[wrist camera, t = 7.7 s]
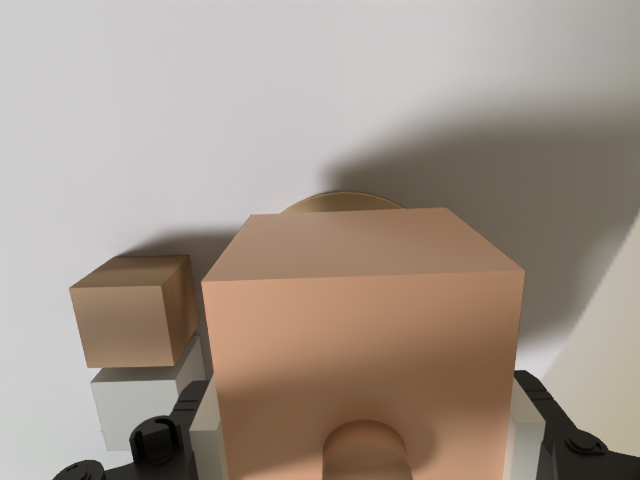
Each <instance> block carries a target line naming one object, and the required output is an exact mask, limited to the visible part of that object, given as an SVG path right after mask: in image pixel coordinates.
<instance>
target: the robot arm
mask: <svg viewBox="0 0 640 480" xmlns="http://www.w3.org/2000/svg"><path fill="white" fill-rule="evenodd" d="M129 442H130V447H131V451H132V456H133V460H134V462H132V463H130V464H127V465H124V466H121V467H117V468H113V469H110V470H106V471H104V468H103V466H102V464H101V463H100V462H98V461H96V460H84V461H80V462H77V463H74V464H72V465H70V466H68V467H66V468H65V469H63V470H62V471H61V472H60V473H58V474H57V475H56V476H55V477H54V479H53V480H229V474H228V467H227V460H226V452H225V445H224V438H223V430H222V423H221V418H220V412H219V405H218V398H217V391H216V384H215V377H214V373H213V376H212V378H211V380H197V381H192V382H191V383H190V384H188V385H187V386H186V387H185V388H184V389H183V390H182V392H181V394H180V396H179V397H178V399H177V403H175V405H174V407H173V409H172V412H171V413H170V415H169V416H167V415H161V416H155V417H152V418H150V419H147V420H145V421H143V422H142V423H141V424H139V425H138V426H137V427H136V428H135V429H134V430H133V431H132V433H131V435H130V438H129ZM502 480H640V457H635V456H630V455H626V454H620V453H617V452H613V451H610V450H608V448H607V446H606V445H605V444H604V443H603V442H602V441H601V440H600V439H599V438H597V437H595V436H593V435H592V434H590V433H588V432H585V431H582V430H579V429H578V428H577V427H576V426H575V425H574V423H573V422H572V421H571V420H570V418H569V417H568V416H567V415H566V413H565V412H564V411H563V410H562V408H561V407H560V406H559V405H558V403H557V402H556V401H555V400H554V399H553V397H552V396H551V394H550V393H549V392H547V389H546V388H545V387H544V386H543V384H542V383H541V382H540V381H539V379H537V378H536V377H535V376H533V375H532V374H530V373H529V372H527V371H526V370H514V378H513V387H512V396H511V405H510V414H509V423H508V432H507V441H506V450H505V460H504V469H503V478H502Z"/></svg>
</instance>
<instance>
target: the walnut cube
mask: <svg viewBox="0 0 640 480" xmlns="http://www.w3.org/2000/svg"><path fill="white" fill-rule="evenodd" d="M69 291H70V295H71V299H72V303H73V308H74V312H75V316H76V320H77V325H78V329H79V333H80V337H81V342H82V346H83V350H84V354H85V359H86V363H87V367H88V368H109V367H153V366H174V365H175V363H176V362H177V360H178V358H179V357H180V355H181V353H182V352H183V350H184V348H185V346H186V345H187V343H188V341H189V340H190V338H191V336H192V335H193V333H194V331H195V329H196V328H197V326H198V324H199V321H198V314H197V306H196V299H195V292H194V284H193V277H192V270H191V262H190V255H175V256H140V257H113V258H112V259H110V260H109V261H107V262H106V263H104V264H103V265H101V266H100V267H99V268H97V269H96V270H94V271H93V272H91V273H90V274H89V275H87V276H86V277H84V278H83V279H81V280H80V281H78V282H77V283H76V284H74V285H73V286H71V287H70V288H69Z"/></svg>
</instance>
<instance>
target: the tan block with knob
mask: <svg viewBox="0 0 640 480" xmlns="http://www.w3.org/2000/svg"><path fill="white" fill-rule="evenodd" d="M524 278H525V270H524V269H523V268H522V267H520V266H519V265H518V264H517V263H515V262H514V261H513V260H512V259H510V258H509V257H508V256H507V255H505V254H504V253H503V252H502V251H500V250H499V249H498V248H497V247H495V246H494V245H493V244H492V243H490V242H489V241H488V240H487V239H485V238H484V237H483V236H482V235H480V234H479V233H478V232H477V231H475V230H474V229H473V228H472V227H471V226H469V225H468V224H467V223H466V222H464V221H463V220H462V219H461V218H459V217H458V216H457V215H456V214H454V213H453V212H452V211H451V210H449V209H448V208H447V207H439V208H413V209H388V210H363V211H338V212H313V213H288V214H262V215H251V216H250V217H249V218H248V220H247V221H246V222H245V224H244V225H243V226H242V228H241V229H240V230H239V232H238V233H237V234H236V236H235V237H234V238H233V240H232V241H231V242H230V244H229V245H228V246H227V248H226V249H225V250H224V252H223V253H222V254H221V256H220V257H219V258H218V260H217V261H216V262H215V264H214V265H213V267H212V268H211V269H210V271H209V272H208V273H207V275H206V276H205V277H204V279H203V280H202V281H201V285H202V292H203V299H204V306H205V313H206V320H207V327H208V334H209V341H210V348H211V355H212V362H213V370H214V377H215V384H216V391H217V398H218V405H219V412H220V418H221V423H222V430H223V438H224V445H225V452H226V460H227V467H228V474H229V480H502V478H503V469H504V460H505V450H506V441H507V432H508V423H509V414H510V405H511V396H512V387H513V378H514V369H515V360H516V350H517V341H518V332H519V323H520V314H521V305H522V296H523V287H524Z"/></svg>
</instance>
